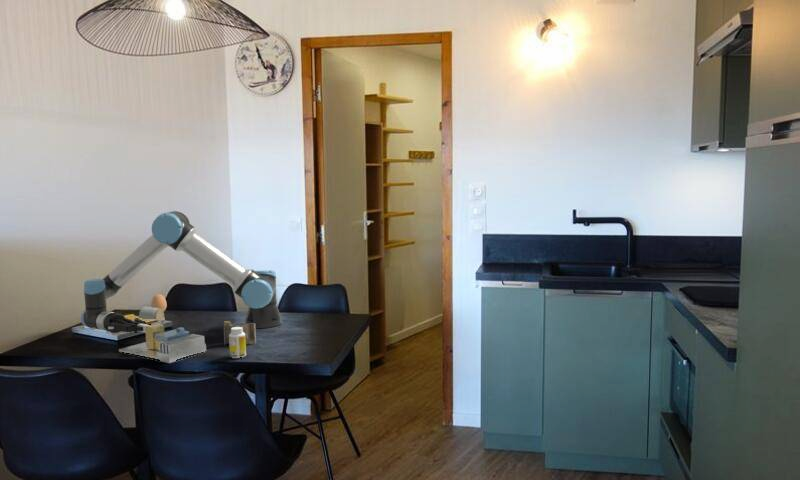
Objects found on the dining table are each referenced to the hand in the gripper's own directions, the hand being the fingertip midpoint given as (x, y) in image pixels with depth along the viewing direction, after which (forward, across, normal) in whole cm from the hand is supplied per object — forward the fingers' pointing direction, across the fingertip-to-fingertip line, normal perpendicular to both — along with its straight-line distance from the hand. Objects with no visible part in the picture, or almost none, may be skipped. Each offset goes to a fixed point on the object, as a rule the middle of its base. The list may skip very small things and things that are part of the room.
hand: (150, 329), depth 241 cm
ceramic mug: (-35, -27, -8) cm, 45 cm away
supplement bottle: (+35, -10, -8) cm, 37 cm away
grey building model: (+6, 0, -8) cm, 10 cm away
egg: (-50, -41, -8) cm, 65 cm away
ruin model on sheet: (+22, -22, -8) cm, 33 cm away
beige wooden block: (+6, 0, -6) cm, 9 cm away
